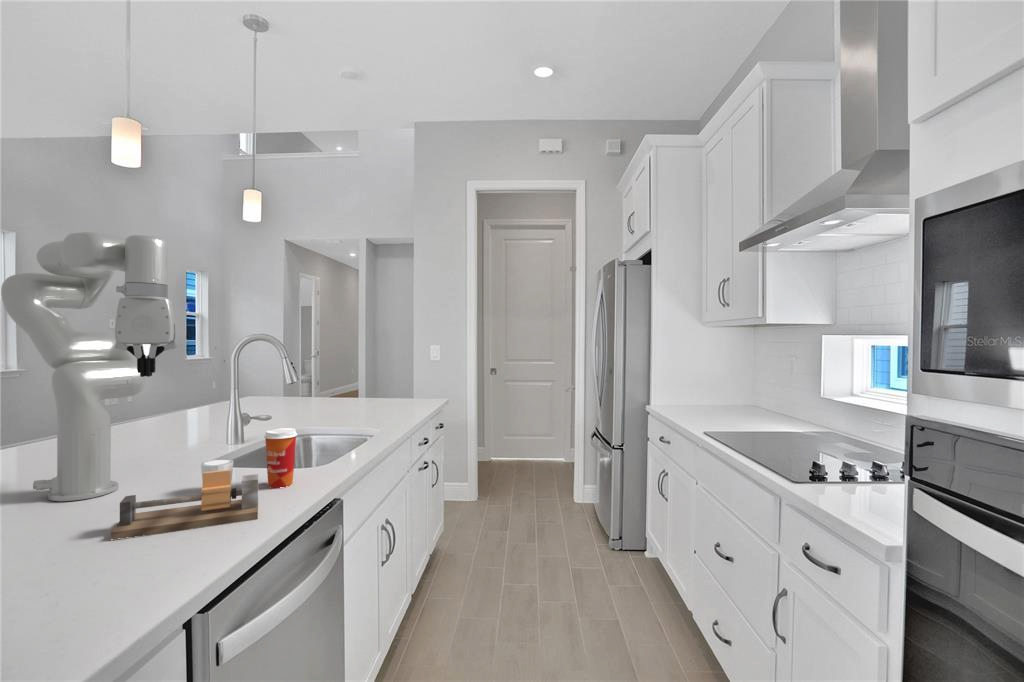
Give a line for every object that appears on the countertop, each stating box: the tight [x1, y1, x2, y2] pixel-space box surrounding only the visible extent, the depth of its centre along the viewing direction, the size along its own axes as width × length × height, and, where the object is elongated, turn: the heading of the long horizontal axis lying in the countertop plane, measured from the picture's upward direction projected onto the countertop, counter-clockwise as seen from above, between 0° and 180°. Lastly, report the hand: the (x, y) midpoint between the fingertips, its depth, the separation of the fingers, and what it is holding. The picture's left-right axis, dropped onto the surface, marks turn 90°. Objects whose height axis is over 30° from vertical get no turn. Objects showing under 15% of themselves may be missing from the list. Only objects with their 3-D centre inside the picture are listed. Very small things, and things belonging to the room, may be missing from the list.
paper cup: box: [263, 427, 298, 489], centre depth 122 cm, size 8×8×14 cm
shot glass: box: [200, 458, 234, 482], centre depth 117 cm, size 7×7×7 cm
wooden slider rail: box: [110, 473, 259, 540], centre depth 98 cm, size 24×10×8 cm, turn 118°
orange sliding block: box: [200, 469, 232, 511], centre depth 100 cm, size 5×4×7 cm
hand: (146, 376), depth 105 cm, fingers closed
